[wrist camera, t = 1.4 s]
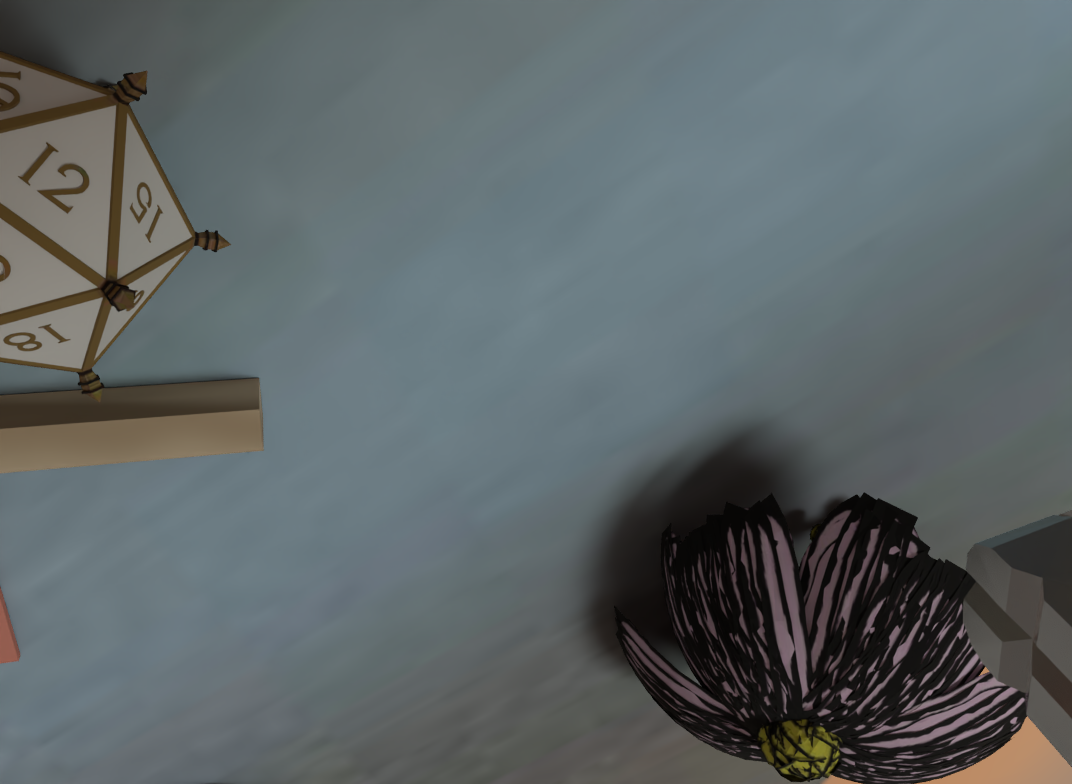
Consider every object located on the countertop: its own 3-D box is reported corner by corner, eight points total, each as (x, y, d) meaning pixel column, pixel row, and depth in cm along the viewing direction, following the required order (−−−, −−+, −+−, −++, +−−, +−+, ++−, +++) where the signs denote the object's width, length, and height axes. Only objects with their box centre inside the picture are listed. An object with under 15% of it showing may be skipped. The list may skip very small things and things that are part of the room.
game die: (54, 190, 29) (-158, 455, 23) (-124, -83, 22) (-487, 198, 16) (316, 221, 27) (155, 517, 21) (211, -67, 20) (-68, 257, 14)
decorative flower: (668, 657, 27) (1164, 713, 27) (656, 379, 35) (1037, 427, 35) (591, 833, 37) (952, 872, 38) (596, 587, 45) (892, 622, 46)
